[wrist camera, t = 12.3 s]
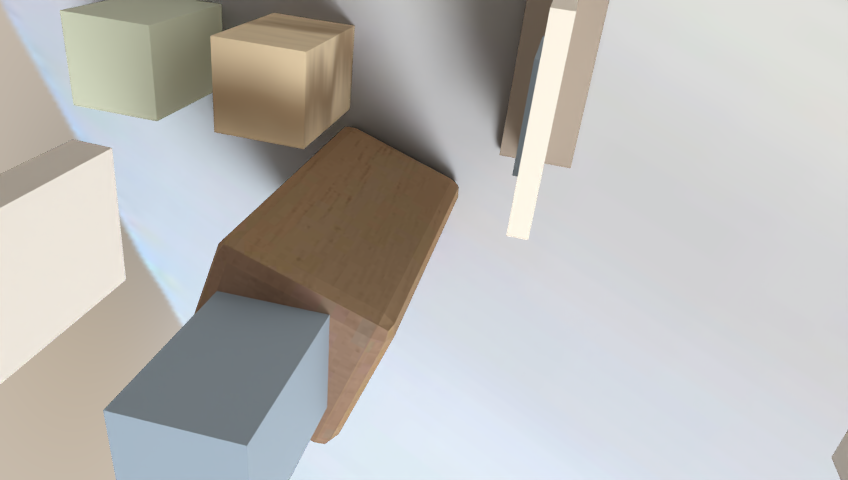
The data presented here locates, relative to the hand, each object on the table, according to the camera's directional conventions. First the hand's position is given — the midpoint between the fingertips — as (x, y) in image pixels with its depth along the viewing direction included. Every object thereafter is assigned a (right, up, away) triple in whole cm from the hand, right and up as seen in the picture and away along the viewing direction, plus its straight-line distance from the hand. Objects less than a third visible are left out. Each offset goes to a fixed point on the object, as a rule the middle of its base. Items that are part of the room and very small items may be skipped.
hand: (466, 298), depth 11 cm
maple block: (-9, +14, +37) cm, 40 cm away
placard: (+8, +12, +33) cm, 36 cm away
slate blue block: (-9, -5, +23) cm, 25 cm away
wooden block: (-4, +4, +41) cm, 41 cm away
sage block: (-18, +16, +38) cm, 45 cm away
